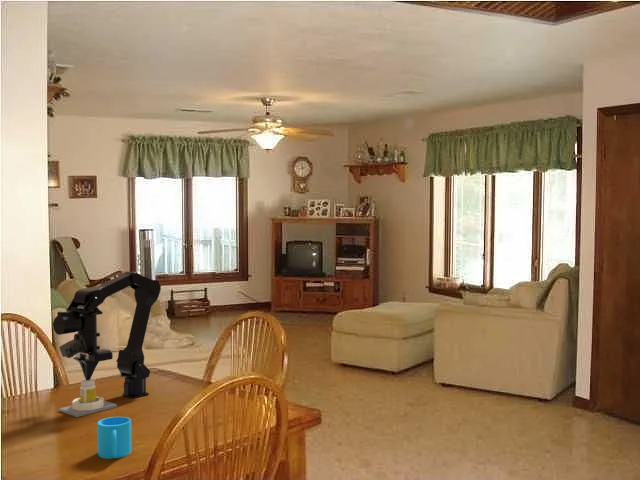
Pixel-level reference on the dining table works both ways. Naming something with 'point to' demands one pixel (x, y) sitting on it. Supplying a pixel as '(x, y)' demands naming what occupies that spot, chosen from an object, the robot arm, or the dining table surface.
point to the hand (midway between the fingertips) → (87, 379)
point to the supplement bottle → (87, 391)
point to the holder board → (80, 413)
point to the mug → (114, 437)
